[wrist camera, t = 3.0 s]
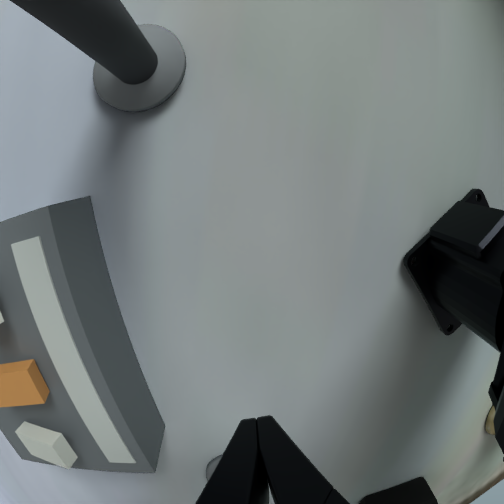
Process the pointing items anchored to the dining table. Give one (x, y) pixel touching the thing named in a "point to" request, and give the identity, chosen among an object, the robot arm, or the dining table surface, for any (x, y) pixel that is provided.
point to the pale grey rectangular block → (1, 318)
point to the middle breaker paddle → (22, 384)
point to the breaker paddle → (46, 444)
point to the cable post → (117, 50)
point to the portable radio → (404, 494)
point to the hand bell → (490, 421)
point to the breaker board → (73, 342)
